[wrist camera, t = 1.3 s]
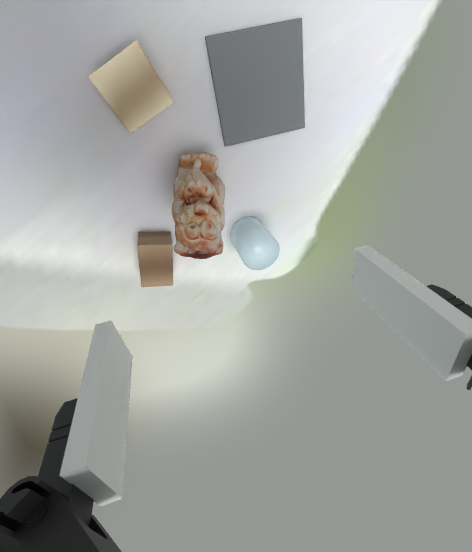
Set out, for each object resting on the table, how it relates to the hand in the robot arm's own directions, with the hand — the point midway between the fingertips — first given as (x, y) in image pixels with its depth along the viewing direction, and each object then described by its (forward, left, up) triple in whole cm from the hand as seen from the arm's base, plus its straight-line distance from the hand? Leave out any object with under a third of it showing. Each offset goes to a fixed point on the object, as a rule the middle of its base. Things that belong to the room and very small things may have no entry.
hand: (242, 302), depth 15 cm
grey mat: (-8, +10, -24) cm, 27 cm away
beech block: (-10, -3, -24) cm, 27 cm away
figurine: (0, 0, -24) cm, 24 cm away
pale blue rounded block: (+9, +6, -24) cm, 27 cm away
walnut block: (+8, -7, -24) cm, 27 cm away
